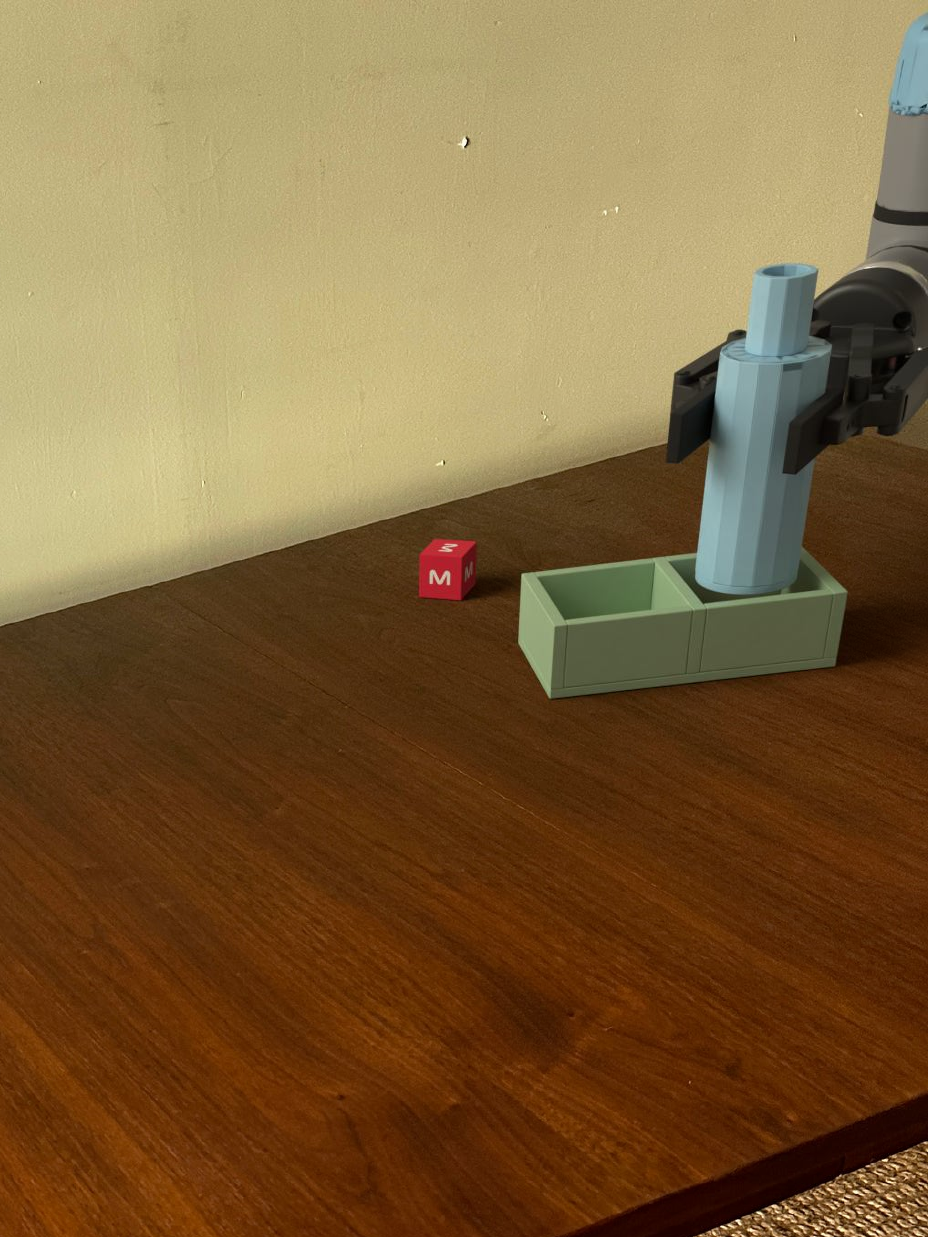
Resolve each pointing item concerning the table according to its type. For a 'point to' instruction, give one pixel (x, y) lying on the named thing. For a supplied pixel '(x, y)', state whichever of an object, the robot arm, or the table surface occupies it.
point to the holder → (671, 626)
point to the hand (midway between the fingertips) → (732, 443)
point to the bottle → (761, 439)
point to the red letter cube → (447, 569)
